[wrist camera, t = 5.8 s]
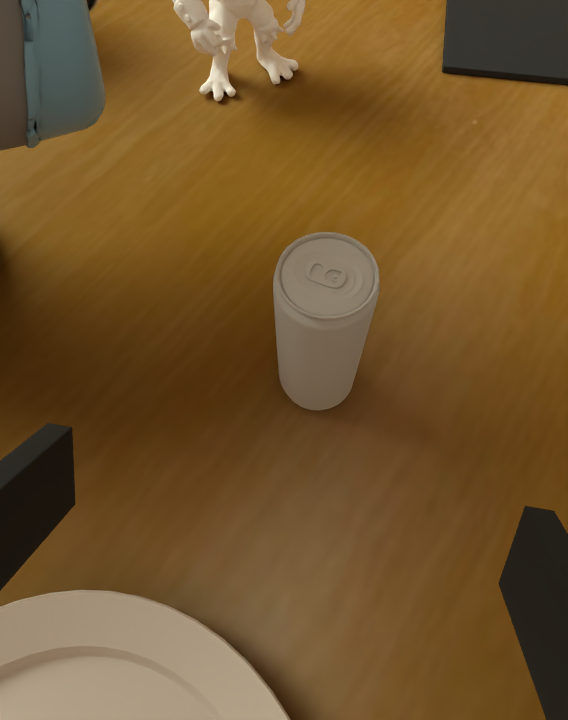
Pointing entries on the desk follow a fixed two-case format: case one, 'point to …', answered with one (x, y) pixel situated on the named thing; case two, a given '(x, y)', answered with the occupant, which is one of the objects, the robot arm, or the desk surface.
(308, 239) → the beverage can
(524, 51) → the mat
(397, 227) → the desk surface
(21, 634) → the plate
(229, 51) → the figurine
